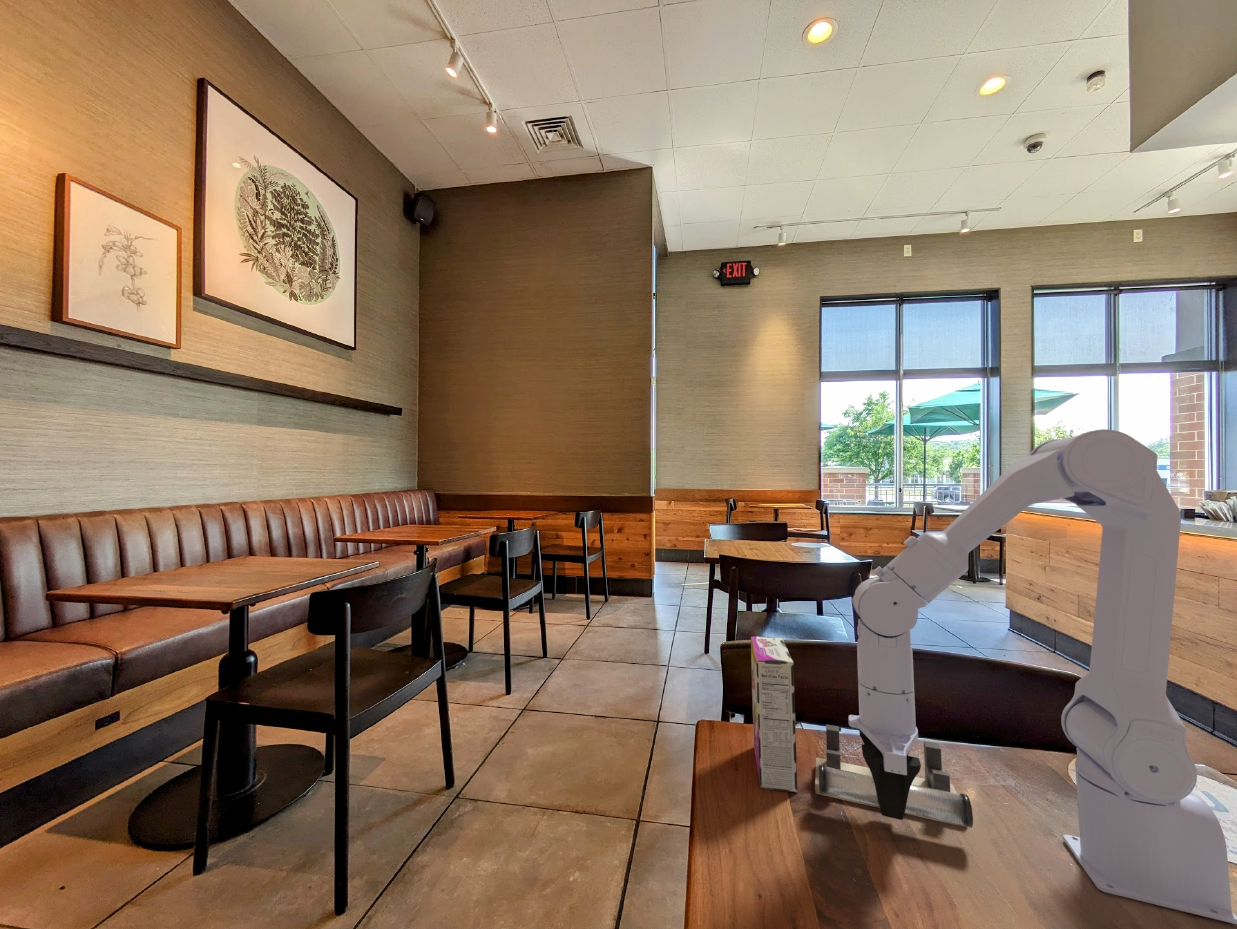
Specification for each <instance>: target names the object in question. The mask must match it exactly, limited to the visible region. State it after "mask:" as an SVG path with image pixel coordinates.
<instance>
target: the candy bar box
mask: <svg viewBox="0 0 1237 929" xmlns="http://www.w3.org/2000/svg"><path fill="white" fill-rule="evenodd" d="M750 652H751V654H750V655H751V656H750V658H751V693H752V694H751V697H752V724H753V725H752V728H753V747H754V748H753V749H754V755H755V761H756V767H757V775H758V782H759V787H760V789H763V790H770V791H780V792H789V793H798V791H799V790H798V766H797V765H798V764H797V760H798V759H797V758H798V757H797V736H796V735H797V733H796V732H797V729H796V702H795V697H796V696H795V682H794V681H795V678H794V674H795V671H794V660H793V659H792V656H791V654H790V652H789V650H788V647H787V645H786V642H785V640H784V639H783V638H781V637H774V636H773V637H770V636H759V635H757V636H751V637H750Z"/></svg>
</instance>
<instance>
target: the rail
mask: <svg viewBox="0 0 1237 929" xmlns="http://www.w3.org/2000/svg"><path fill="white" fill-rule="evenodd" d="M819 793H820V794H824V795H825V794H829V795H833V796H838V797H842V798H846V799H851V800H855V801H860V802H864V803H868V804H873V805H877V806H879V804H878V799H877V794H876V788H875V784H874V780H873V777H872V776H869V775H864V774H859V773H854V772H849V771H844V770H840V769H835V768H830V767H825V765H820V764H819ZM956 793H957V792H956ZM956 793H951V792H946V791H941V790H937V789H932V788H927V787H922V786H917V785H912V784H911V787H910V790H909V794H908V799H907V804H906V809H905V812H908V813H913V814H917V815H922V816H926V817H930V818H935V819H939V820H944V821H948V822H952V823H957V824H961V825H964V826H965V827H964V828H967V827H968V828H971V829H972V828H973V826H974V816H973V809H972V803H971V800H970V797H969V795H968V794H965V793H962V792H959V793H957V794H956ZM820 794H819V795H820ZM824 795H823V796H824Z"/></svg>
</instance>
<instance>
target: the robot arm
mask: <svg viewBox="0 0 1237 929" xmlns="http://www.w3.org/2000/svg"><path fill="white" fill-rule="evenodd" d="M1158 457H1159V456H1158V453H1156V452H1155V451H1153V449H1150V448H1149V447H1147V446H1146V445H1144V444H1143V443H1141V442H1140V441H1138V440H1137V439H1135V438H1134V437H1132V436H1130V435H1128V434H1127V433H1124V432H1121V431H1119V430H1113V429H1107V428H1101V429H1100V428H1099V429H1093V430H1088V431H1086V432H1083V433H1081V434H1079V435H1074V436H1069V437H1066V438H1055V439H1052V440H1047V441H1044V442H1042V443H1040V444H1038V445H1037V446H1036V447H1034V448H1033V449H1032V450H1031V452H1030V453H1029V454H1028V455H1025V456H1023V457H1022V458H1020V459H1018V460H1016V461H1015V462H1014V463H1013V464H1012V465H1011V466H1009V467H1008V468H1007V470H1005V471H1004V472H1003V473H1002V474H1001V475H1000V476H999V477H998V478H997V479H996V480H995V481H994V482H993V483H991V485H990V486H988V487H987V488H986V489H985V490H984V491H983V492H982V493H981V494H980V495H979V496H978V497H977V498H976V499H975V500H974V501H973V502H972V503H971V504H970V505H969V506H968V507H967V508H965V510H964V511H962V512H961V513H960V515H958V517H956V518H955V519H954V520H953V521H952V522H951V523H950V524H949V525H947V527H946V528H945V529H944V530H943V531H941V532H922V533H921V534H919V536H917V537H915V536H912V535H910V536H909V537H907V539H905V540H904V541H903V545H904V546H906V547H905V548H904V549H903V550H902V551H901V552H899V554H898V555H896V556H895V557H894V558H893V559H892V560H890V562H889V563H887V564H886V565H885V566H884V567H883V568H882V567H881V566H877V567H876V568H875V569H874V570H873V573H874V574H875V575H876V576H877V577H874V578H868V579H866V580H864V581H862V582H861V583H859V585H858V586H857V587H856V588H855V590H854V591H855V592H854V595H853V597H852V598H851V602H852V605H853V606H852V607H853V608H854V610H855V612H856V614H857V615H858V616H859V617H860V618H858V620H857V623H858V624H857V626H856V628H857V630H856V631H857V635H858V636H857V637H858V638H857V641H856V650H857V651H856V652H857V653H856V654H857V655H856V656H857V657H856V658H857V683H858V684H857V685H858V686H857V687H858V688H857V689H858V713H859V714H858V715H854V714H850V715H848V725H849V727H850V728H853V729H858V732H859V736H860V739H861V740H862V742H863V743H862V744H861V753H862V754H861V755H862V757H863V759H864V761H865V763H866V765H867V766H868V767H867V768H869V769H870V771H871V774H872V777H873V780H874V784H875V788H876V794H877V799H878V804H879V808H878V809H879V810H880V813H881V815H882V816H883V817H887V818H890V819H895V820H900V821H902V820H904V817H905V815H906V814H905V809H906V804H907V799H908V794H909V790H910V787H911V784H912V782H913V780H914V778H915V777H917V776H918V774H919V773H920V770H921V767H922V764H921V760H920V758H919V757H917V756H911V755H909V754H910V753H911V750H912V749H913V747H914V745H915V744H916V742H917V740H918V739H919V730H918V727H917V726H916V725H917V724H916V705H915V704H916V701H915V682H914V677H915V676H914V659H913V658H914V656H913V653H914V652H913V648H912V644H911V643H912V642H911V630H913V629H914V628H915V627H916V624H917V622H918V618H919V609H922V608H926V606H928V605H929V604H930V603H931V602H932V601H934V599H936V598H937V597H938V596H939V595H941V594H942V593H943V592H945V590H946V589H948V588H949V587H950V586H952V584H954V583H955V582H956V581H957V580H959V578H961V577H962V576H963V575H964V574H966V573H967V572H968V571H969V555H970V554H969V553H971V551H973V550H974V549H975V548H977V547H978V546H979V545H980V544H982V543H983V542H984V541H986V540H987V539H988V538H990V537H991V536H992V535H993V534H995V533H996V532H998V530H1000V529H1001V528H1003V527H1004V526H1005V525H1006V524H1007V523H1009V522H1010V521H1011V520H1013V519H1015V517H1016V516H1018V515H1020V514H1021V513H1022V512H1024V510H1026V509H1027V508H1028V507H1030V506H1032V505H1035V504H1040V503H1045V502H1050V501H1055V500H1056V501H1057V500H1061V499H1062V500H1065V501H1067V502H1069V503H1072V504H1075V505H1076V506H1077V507H1078V508H1080V510H1082V511H1083V512H1084V513H1085V514H1087V515H1088V516H1089V517H1090V518H1092V519H1093V520H1095V521H1096V522H1097V523H1098V524H1099V525H1100V526H1101V527H1102V530H1101V531H1102V532H1101V542H1100V553H1099V565H1098V574H1097V575H1098V576H1097V585H1096V596H1095V607H1094V619H1093V629H1092V640H1091V642H1092V643H1091V649H1090V650H1091V652H1090V662H1089V671H1088V673H1086V674H1085V675H1083V677H1081V678H1079V680H1077V681H1076V682H1075V684H1074V685H1075V686H1074V694H1073V697H1072V698H1071V700H1070V701H1069V702H1068V703H1067V705H1066V706H1065V707H1064V708H1063V710H1062V713H1061V718H1060V719H1061V727H1062V731H1063V732H1064V734H1065V736H1066V738H1067V739H1068V740H1069V742H1071V743H1072V745H1074V746H1075V747H1076V754H1077V755H1076V759H1075V762H1074V765H1075V780H1076V781H1075V783H1076V798H1077V812H1078V814H1077V815H1078V816H1077V818H1078V828H1079V830H1078V831H1079V836H1074V835H1071V834H1063V835H1062V840H1063V841H1064V842H1065V844H1066V845H1067V847H1068V849H1070V851H1071V853H1072V854H1073V855H1074V857H1075V858H1076V859H1077V861H1078V863H1079V864H1080V865H1081V867H1082V868H1083V870H1084V871H1085V872H1086V874H1087V875H1088V877H1089V878H1090V880H1091V881H1092V883H1093V884H1094V885H1095V887H1096V888H1097V889H1098V890H1100V891H1102V892H1104V893H1108V894H1111V895H1115V896H1120V897H1123V898H1126V899H1131V900H1136V901H1140V902H1144V903H1148V904H1151V905H1152V904H1153V905H1156V906H1160V907H1163V908H1168V909H1171V910H1172V909H1173V910H1176V911H1180V912H1185V913H1188V914H1192V915H1197V916H1201V917H1205V918H1207V919H1214V920H1217V921H1222V922H1225V923H1230V924H1233V925H1237V915H1236V914H1235V913H1234V912H1233V909H1232V908H1233V907H1232V906H1233V905H1232V895H1231V884H1230V872H1229V861H1228V859H1229V858H1228V849H1227V841H1226V837H1225V835H1224V831H1223V829H1222V826H1221V824H1220V822H1219V819H1218V817H1217V816H1216V814H1215V812H1214V810H1213V809H1212V808H1211V806H1210V805H1209V804H1208V802H1206V801H1205V800H1204V799H1203V798H1202V797H1200V796H1199V795H1198V794H1195V793H1193V790H1194V789H1195V787H1196V784H1197V781H1198V771H1197V768H1196V765H1195V762H1194V760H1193V759H1192V756H1191V754H1190V753H1189V750H1188V747H1187V728H1186V726H1185V724H1184V722H1183V720H1182V719H1181V717H1180V716H1179V714H1178V713H1177V711H1176V709H1175V707H1174V706H1173V705H1172V703H1171V701H1170V700H1169V698H1168V696H1167V687H1168V686H1167V684H1168V674H1169V662H1170V653H1171V652H1170V650H1171V649H1170V648H1171V637H1172V626H1173V625H1172V624H1173V616H1174V615H1173V614H1174V605H1175V604H1174V603H1175V592H1176V582H1177V581H1176V580H1177V571H1178V557H1179V550H1180V549H1179V545H1180V538H1181V537H1180V536H1181V535H1180V534H1181V527H1182V526H1181V523H1182V522H1181V521H1182V518H1181V517H1182V516H1181V511H1180V508H1179V507H1178V505H1177V503H1176V502H1175V500H1174V497H1172V494H1171V493H1170V491H1169V490H1168V488H1167V486H1166V484H1165V482H1164V481H1163V479H1162V477H1161V476H1160V474H1159V472H1158V470H1157V468H1158Z"/></svg>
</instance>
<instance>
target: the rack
mask: <svg viewBox="0 0 1237 929" xmlns="http://www.w3.org/2000/svg"><path fill="white" fill-rule="evenodd" d="M839 727H840V726H838V725H834V724H833V725H830V724H825V731H826V732H825V738H826V752H825V753H826V757H825V758H826V759H825V758H821V757H816V758H815V780H814V787H815V788H814V790H815V795H820V796H824V797H828V798H829V797H830V798H834V799H839V800H842V801H848V802H851V803H856V804H861V805H865V806H869V807H874V808H878V809H880V808H879V806H877V805H873V804H868V803H864V802H860V801H855V800H851V799H846V798H842V797H838V796H833V795H829V794H825V795H824V794H820V793H819V764H820V765H825V767H830V768H835V769H840V770H844V771H849V772H854V773H859V774H864V775H869V776H872V774H871V771H870V769H869V767H867V766H862V765H856V764H853V763H847V762H841V750H840V749H841V748H840V728H839ZM923 755H924V778H922V777H918V776H916V777H915V778H914V780H913V782H912V785H917V786H922V787H927V788H932V789H937V790H941V791H946V792H951V793H956V794H958V793H957V791H956V789H955V786H954V785H953V784H952V783H951V778H950V776H951V775H950V774H949V772H947V771H943V765H942V748H941V745H940V744H939V743H938V742H932V741H927V740H923ZM904 815H909V816H915V817H919V818H923V819H927V820H932V821H937V822H940V823H944V824H948V825H949V824H950V825H955V826H958V827H963V828H966V829H967V828H969V827H965V826H964V825H961V824H957V823H952V822H948V821H944V820H939V819H935V818H930V817H926V816H922V815H917V814H913V813H908V812H905V814H904Z"/></svg>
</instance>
